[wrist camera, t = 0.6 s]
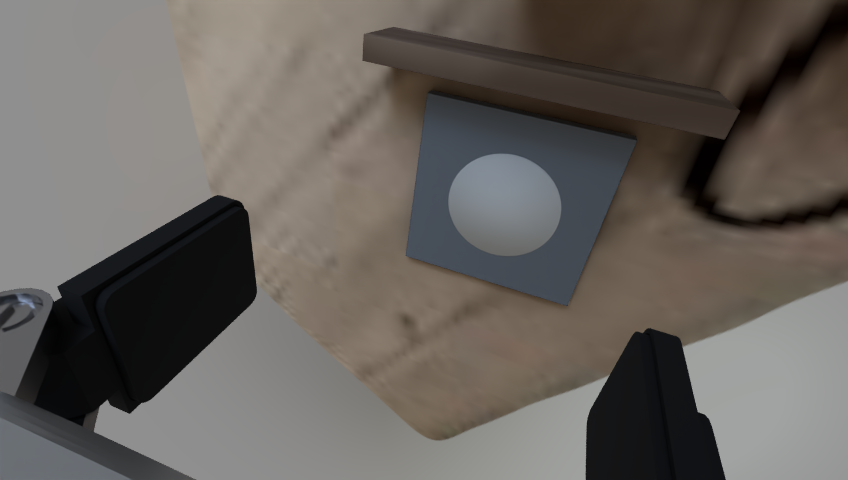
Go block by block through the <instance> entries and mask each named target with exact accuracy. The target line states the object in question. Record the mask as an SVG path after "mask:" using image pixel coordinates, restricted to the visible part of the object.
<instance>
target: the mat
mask: <svg viewBox="0 0 848 480" xmlns="http://www.w3.org/2000/svg"><path fill="white" fill-rule="evenodd" d="M636 142H637V138H636V136H632V135H628V134H624V133H619V132H615V131H610V130H606V129H601V128H597V127H592V126H588V125H584V124H579V123H575V122H570V121H566V120H561V119H557V118H552V117H548V116H544V115H539V114H535V113H530V112H526V111H521V110H517V109H512V108H508V107H504V106H499V105H495V104H490V103H486V102H481V101H477V100H473V99H468V98H464V97H459V96H455V95H450V94H446V93H441V92H437V91H433V90H431V91H430V92H428V93H427V100H426V107H425V115H424V122H423V130H422V138H421V145H420V153H419V160H418V168H417V175H416V183H415V190H414V198H413V205H412V213H411V220H410V228H409V235H408V243H407V250H406V256H408V257H411V258H414V259H417V260H421V261H424V262H427V263H430V264H434V265H437V266H440V267H443V268H446V269H450V270H453V271H456V272H459V273H462V274H466V275H469V276H472V277H475V278H479V279H482V280H485V281H488V282H491V283H495V284H498V285H501V286H504V287H508V288H511V289H514V290H517V291H520V292H524V293H527V294H530V295H533V296H536V297H540V298H543V299H546V300H549V301H553V302H556V303H559V304H562V305H565V306H568V303H569V301H570V299H571V296H572V294H573V291H574V289H575V287H576V284H577V282H578V280H579V277H580V275H581V273H582V270H583V268H584V265H585V263H586V261H587V258H588V256H589V254H590V251H591V249H592V246H593V244H594V242H595V239H596V237H597V235H598V232H599V230H600V227H601V225H602V223H603V220H604V218H605V216H606V213H607V211H608V209H609V206H610V204H611V201H612V199H613V197H614V194H615V192H616V190H617V187H618V185H619V182H620V180H621V178H622V175H623V173H624V171H625V168H626V166H627V164H628V161H629V159H630V156H631V154H632V152H633V149H634V147H635V145H636Z"/></svg>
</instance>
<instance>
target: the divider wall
mask: <svg viewBox="0 0 848 480" xmlns="http://www.w3.org/2000/svg"><path fill="white" fill-rule="evenodd" d="M363 61H366V62H371V63H376V64H380V65H385V66H389V67H394V68H399V69H403V70H408V71H412V72H417V73H421V74H426V75H431V76H435V77H440V78H444V79H449V80H454V81H458V82H463V83H467V84H472V85H477V86H481V87H486V88H490V89H495V90H499V91H504V92H509V93H513V94H518V95H522V96H527V97H532V98H536V99H541V100H545V101H550V102H555V103H559V104H564V105H568V106H573V107H577V108H582V109H587V110H591V111H596V112H600V113H605V114H610V115H614V116H619V117H623V118H628V119H633V120H637V121H642V122H646V123H651V124H655V125H660V126H665V127H669V128H674V129H678V130H683V131H688V132H692V133H697V134H701V135H706V136H710V137H715V138H720V139H724V140H725V138H726V136H727V134H728V132H729V131H730V129H731V127H732V125H733V123H734V121H735V119H736V118H737V116H738V114H739V112H740V110H738V109H737V108H736V107H735V106H734V105H733V104H732V103H731V102H730V101H728V100H727V99H726V98H725V97H724V96H723V95H722V94H721V93H720V92H718V91H714V90H709V89H704V88H699V87H694V86H689V85H684V84H679V83H674V82H669V81H664V80H659V79H654V78H649V77H643V76H638V75H633V74H628V73H623V72H618V71H613V70H608V69H603V68H598V67H593V66H588V65H583V64H578V63H573V62H568V61H563V60H558V59H552V58H547V57H542V56H537V55H532V54H527V53H522V52H517V51H512V50H507V49H502V48H497V47H492V46H487V45H482V44H477V43H472V42H466V41H461V40H456V39H451V38H446V37H441V36H436V35H431V34H426V33H421V32H416V31H411V30H406V29H401V28H396V27H392V28H388V29H383V30H379V31H375V32H371V33H366V34H364V42H363Z"/></svg>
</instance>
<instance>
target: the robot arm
mask: <svg viewBox="0 0 848 480" xmlns="http://www.w3.org/2000/svg"><path fill="white" fill-rule="evenodd" d="M58 290H59V292H60V294H61V296H62V298H60V299H58V300H57V301H55V302H54V301H53V299H52V297H51V296H50V294H48V293H47V292H45V291H43V290H39V289H32V288H26V289H14V290H9V291H3V292H0V480H196V479H193V478H191V477H189V476H187V475H185V474H183V473H181V472H179V471H176V470H174V469H172V468H170V467H168V466H166V465H164V464H161V463H159V462H157V461H155V460H153V459H151V458H149V457H146V456H144V455H142V454H140V453H138V452H136V451H134V450H131V449H129V448H127V447H125V446H123V445H121V444H118V443H116V442H114V441H112V440H110V439H108V438H105V437H103V436H101V435H99V434H97V433H95V432H94V428H95V423H96V419H97V415H98V411H99V406H100V405H102V404H103V403H104V402H105V401H106V400H107V399H108V401H109V403H110V405H111V406H113V407H116V408H118V409H120V410H122V411H125V412H127V413H129V414H130V413H131V412H132V411H133V410H134V409H135V408H136V407H137V406H138V405H140V404H141V403H144V402H147V401H149V400H151V399H152V398H153V397H154V396H155V395H156V394H157V393H158V392H159V391H160V390H161V389H162V388H164V387H165V386H166V385H167V384H168V383H169V382H170V381H171V380H172V379H173V378H174V377H175V376H176V375H177V374H178V373H179V372H180V371H181V370H183V368H185V367H186V366H187V365H188V364H189V363H190V362H191V361H192V360H193V359H194V358H195V357H196V356H197V355H198V354H199V353H200V352H201V351H202V350H203V349H205V348H206V347H207V346H208V345H209V344H210V343H211V342H212V341H213V340H214V339H215V338H216V337H217V336H218V335H219V334H220V333H221V332H222V331H224V330H225V329H226V328H227V327H228V326H229V325H230V324H231V323H232V322H233V321H234V320H235V319H236V318H237V317H238V316H239V315H240V314H241V313H242V312H243V311H244V310H246V309H247V308H248V307H249V306H250V305H251V304H252V302H253V301H254V299H255V297H256V294H257V287H256V278H255V269H254V260H253V251H252V242H251V233H250V225H249V216H248V212H247V210H245V209H244V206H243V204H242V203H241V202H239V201H237V200H234V199H230V198H227V197H224V196H220V195H217V196H214V197H212V198H210V199H208V200H207V201H205V202H203V203H202V204H200V205H198V206H196V207H195V208H193V209H191V210H189V211H188V212H186V213H184V214H182V215H181V216H179V217H177V218H176V219H174V220H172V221H170V222H169V223H167V224H165V225H163V226H162V227H160V228H158V229H156V230H155V231H153V232H151V233H150V234H148V235H146V236H144V237H143V238H141V239H139V240H137V241H136V242H134V243H132V244H130V245H129V246H127V247H125V248H124V249H122V250H120V251H118V252H117V253H115V254H113V255H111V256H110V257H108V258H106V259H105V260H103V261H101V262H99V263H98V264H96V265H94V266H92V267H91V268H89V269H87V270H86V271H84V272H82V273H81V274H78V275H77V276H75V277H73V278H71V279H70V280H68V281H66V282H65V283H63V284H61V285H59V286H58ZM586 437H587V439H586V480H726V479H725V475H724V471H723V467H722V464H721V460H720V456H719V452H718V448H717V444H716V440H715V436H714V433H713V429H712V426H711V423H710V421H709V419H708V418H707V417H706V415H704V414H701V413H698V412H697V408H696V403H695V399H694V395H693V391H692V386H691V382H690V378H689V373H688V369H687V365H686V361H685V356H684V352H683V348H682V343H681V341H680V338H678V337H677V336H673V335H670V334H667V333H664V332H660V331H657V330H654V329H651V328H648V329H646V330H645V331H644V333H640V332H635V333H634V334H633V335H632V337H631V339H630V340H629V342H628V344H627V346H626V348H625V349H624V351H623V353H622V355H621V356H620V358H619V360H618V362H617V363H616V365H615V367H614V369H613V371H612V372H611V374H610V376H609V378H608V379H607V381H606V383H605V385H604V386H603V388H602V390H601V392H600V393H599V395H598V397H597V399H596V401H595V402H594V404H593V406H592V408H591V410H590V412H589V415H588V420H587V436H586Z"/></svg>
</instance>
